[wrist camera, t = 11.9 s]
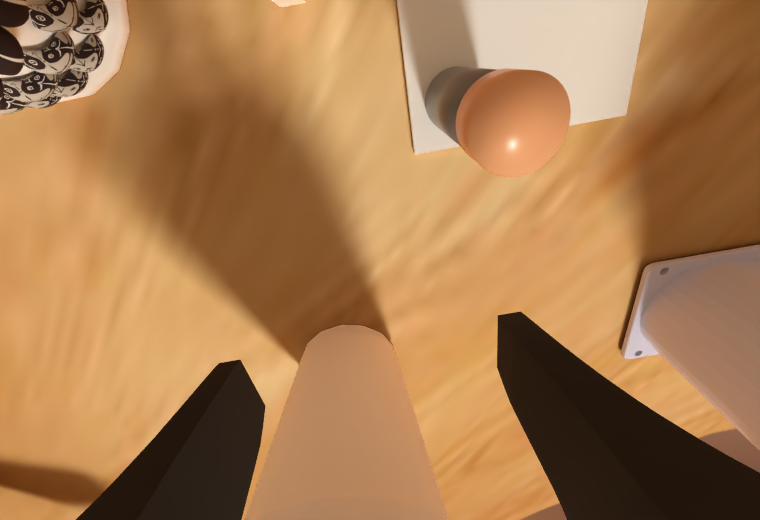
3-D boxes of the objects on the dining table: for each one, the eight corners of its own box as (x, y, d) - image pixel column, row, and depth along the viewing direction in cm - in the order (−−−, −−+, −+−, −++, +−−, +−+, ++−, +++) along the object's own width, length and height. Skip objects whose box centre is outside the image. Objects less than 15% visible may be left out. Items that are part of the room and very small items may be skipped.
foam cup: (296, 289, 20) (224, 577, 9) (438, 322, 22) (524, 590, 11) (268, 393, 25) (197, 673, 13) (389, 412, 27) (415, 669, 15)
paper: (665, -125, 12) (673, -130, 12) (621, 114, 16) (626, 115, 16) (388, -68, 12) (389, -70, 12) (414, 153, 16) (415, 154, 16)
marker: (484, 59, 14) (577, 60, 8) (484, 126, 16) (563, 168, 10) (421, 71, 14) (468, 80, 8) (426, 136, 16) (470, 184, 10)
